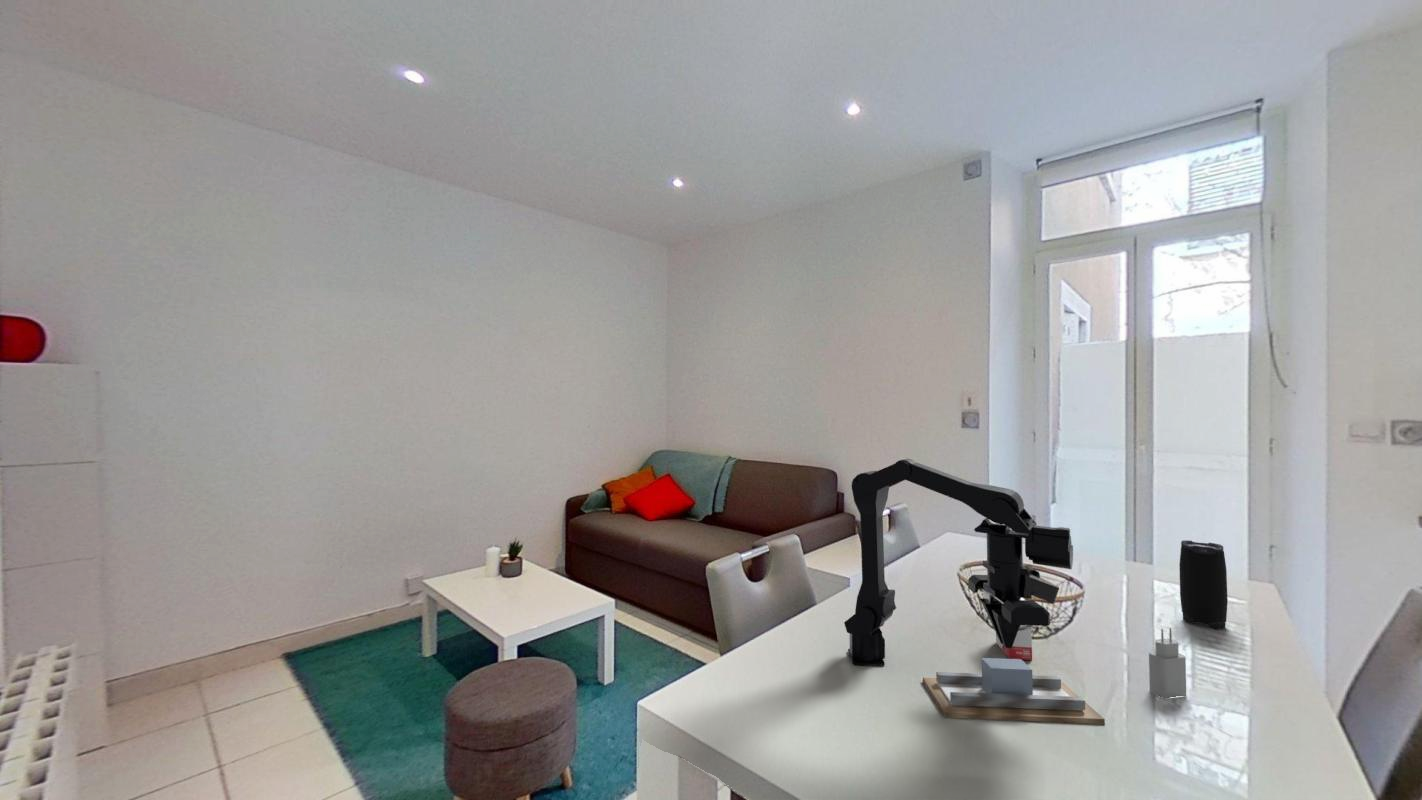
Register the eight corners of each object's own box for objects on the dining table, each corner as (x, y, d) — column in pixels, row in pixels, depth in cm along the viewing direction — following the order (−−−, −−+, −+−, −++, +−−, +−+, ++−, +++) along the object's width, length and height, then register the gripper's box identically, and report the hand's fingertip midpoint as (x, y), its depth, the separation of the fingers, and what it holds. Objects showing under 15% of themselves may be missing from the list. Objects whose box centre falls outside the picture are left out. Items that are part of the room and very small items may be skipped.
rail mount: (944, 717, 91) (944, 700, 91) (922, 681, 103) (922, 667, 103) (1104, 723, 89) (1104, 706, 89) (1063, 686, 101) (1062, 671, 101)
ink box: (1033, 661, 111) (1032, 604, 111) (1008, 659, 112) (1007, 603, 112) (1018, 643, 119) (1017, 591, 120) (994, 641, 120) (994, 589, 121)
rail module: (991, 699, 94) (991, 668, 94) (982, 687, 98) (981, 657, 98) (1033, 701, 93) (1033, 669, 94) (1022, 689, 97) (1021, 659, 98)
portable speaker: (1225, 622, 131) (1224, 542, 132) (1230, 634, 124) (1228, 550, 124) (1179, 613, 137) (1178, 537, 137) (1181, 624, 129) (1179, 544, 130)
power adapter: (1188, 696, 97) (1187, 630, 97) (1164, 699, 96) (1162, 632, 96) (1171, 687, 100) (1169, 623, 100) (1147, 690, 99) (1145, 626, 99)
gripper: (1082, 575, 86) (1085, 672, 86) (1024, 546, 105) (1026, 626, 105) (1011, 574, 87) (1013, 670, 87) (966, 545, 106) (967, 624, 105)
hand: (1006, 645), depth 96 cm, fingers closed
